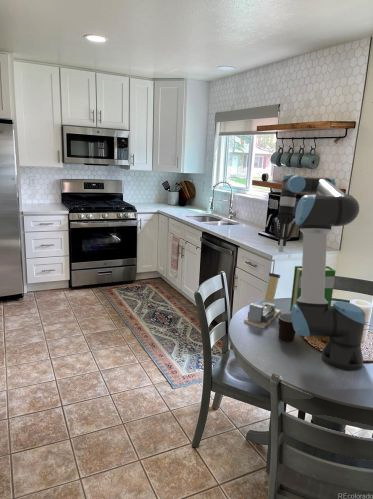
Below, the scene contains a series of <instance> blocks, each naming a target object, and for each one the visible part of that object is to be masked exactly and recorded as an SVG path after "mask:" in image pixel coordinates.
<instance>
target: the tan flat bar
mask: <svg viewBox="0 0 373 499" xmlns="http://www.w3.org/2000/svg"><path fill="white" fill-rule="evenodd" d="M268 276H269V279H268V282H267V289H266V292H265V297H264V301H265V302H266V301H267V302H269V303H274V302H275V298H276V297H275V296H276V293H277V288H278V283H279V280H280V278H281V274H277V273H273V272H269V273H268Z"/></svg>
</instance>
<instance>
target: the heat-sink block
mask: <svg viewBox="0 0 373 499" xmlns="http://www.w3.org/2000/svg"><path fill="white" fill-rule="evenodd" d="M276 305H277V304H275V303H272V302H268V301H267V302H266V301H263V302H262V303H258V304H255V303H252V302H251V303H250V304H249V310H248V311H247V317H248V318H249V321H252V322H256V323H259V324H261V323H262V322H263V323H266V322H267V321H268V320H269V319H270V318H272V317H273V316H274V313H275V309H277V308H276V307H277V306H276Z"/></svg>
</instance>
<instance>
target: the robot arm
mask: <svg viewBox="0 0 373 499" xmlns="http://www.w3.org/2000/svg"><path fill="white" fill-rule="evenodd" d="M281 183H282V184H281V191H280V199H279V207H278V212H277V213H278V214H277V215H276V217H274V218H272V219H271V220H272V222H273V228H274V238H276V239H278V241H277V246H279V247H278V253H284V249H285V247H286V246H287V240H290V239H291V238H292V235H293V233H294V231H295V228H296V226H299V231H300V232H301V233H302V234H303V237H302V238H303V240H302V241H303V242H302V258H301V259H302V261H301V262H302V263H301V266H302V282H301V296H300V297H299V298H298V299H297V304H295V305H293V306H292V309H291V311H290V314H291V319H292V324H293V328H294V330H295V332H296V333H295V334H296V335H299V336H302V337H303V336H305V337H319V338H322V337H323V338H328V340H327V342H326V344H324V347H323V348H322V351H321V359H322V361H323V362H324V363H325V364H327V365H329V366H330V367H332V368H334V369H337V370H340V371H346V372H347V371H348V372H355V371H359V370H361V369H362V368H363V365H364V356H363V352H362V347H361V346H362V340H363V334H364V328H365V324H366V311H365V310H364V309H362V308H361V307H360V306H358V305H356V304H354V303H352V302H346V301H338V300H337V301H334V302H333V304H332V305H331V306H328V301H327V300H326V299H325V298H324V292H325V268H326V266H327V264H326V262H327V260H326V259H327V243H328V241H327V240H328V238H327V237H328V234H329V233H330V232H332V227H344V226H347V225H349V224H351V223H352V222H353V221H354V220H356V218H357V217H358V215H359V214H360V213H359V212H360V204H359V202H358V200H357V199H356V198H355V197H354V196H352V195H351V194H349V193H345V192H344V191H342V190H341V189H339V188H338V186H336V180H335V179H334V178H331V177H310V176H309V177H308V176H307V177H306V176H301V175H296V174H285V175H284V176H283V178H282V182H281ZM297 193H298V194H305V195H303V196H301V198H300V199H299V201H298V203H297V206H296V209H295V205H296V202H297V201H296V200H297ZM294 214H295V215H294ZM278 222H279V223H278ZM278 224H279V225H278ZM290 224H291V227H290Z"/></svg>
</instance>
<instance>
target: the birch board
mask: <svg viewBox="0 0 373 499" xmlns="http://www.w3.org/2000/svg"><path fill="white" fill-rule="evenodd" d="M281 312H282V310H281V309H278V308H275V313H274V316H273V317H272V318H270V319H269V320H268V321H267V322H266V323H263V322H262V323H261V324H259V323H256V322H252V321H249V318H248V316H247V317H246V318H244V320H243V323H244V324H248V325H251V326H254V327H257V328H261V329H265V328H266V327H268V325H269V324H270V323H271V322H273V320H275V319H276V318H277V317H278V316H279V315H280V314H282V313H281Z"/></svg>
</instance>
